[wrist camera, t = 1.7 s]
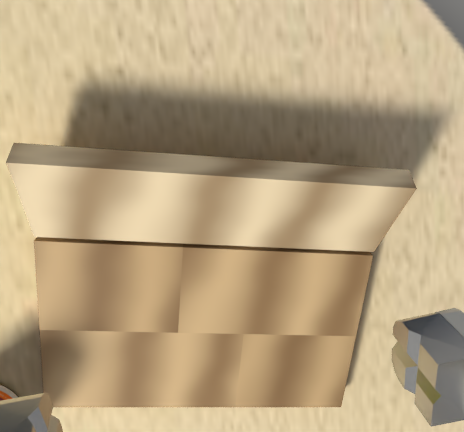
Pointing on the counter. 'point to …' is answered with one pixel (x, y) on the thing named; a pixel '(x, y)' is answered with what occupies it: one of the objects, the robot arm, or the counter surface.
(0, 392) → the pill bottle
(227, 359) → the laid floor
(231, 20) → the counter surface
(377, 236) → the plank
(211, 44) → the counter surface
